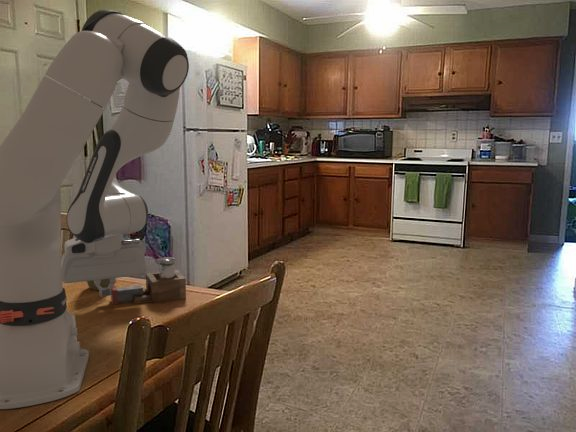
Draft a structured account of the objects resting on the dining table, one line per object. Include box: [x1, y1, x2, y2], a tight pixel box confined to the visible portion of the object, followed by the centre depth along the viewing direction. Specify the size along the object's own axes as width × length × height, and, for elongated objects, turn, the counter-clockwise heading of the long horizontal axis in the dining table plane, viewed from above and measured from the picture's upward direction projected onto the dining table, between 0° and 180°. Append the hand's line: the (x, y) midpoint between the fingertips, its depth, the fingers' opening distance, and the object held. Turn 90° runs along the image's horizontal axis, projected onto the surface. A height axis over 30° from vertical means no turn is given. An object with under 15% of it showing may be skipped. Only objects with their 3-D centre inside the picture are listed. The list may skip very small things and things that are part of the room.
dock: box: [133, 269, 187, 304], centre depth 135 cm, size 9×13×6 cm
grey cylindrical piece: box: [156, 256, 177, 280], centre depth 135 cm, size 5×5×10 cm
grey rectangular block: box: [110, 284, 144, 305], centre depth 131 cm, size 4×8×4 cm, turn 116°
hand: (105, 295), depth 129 cm, fingers closed
